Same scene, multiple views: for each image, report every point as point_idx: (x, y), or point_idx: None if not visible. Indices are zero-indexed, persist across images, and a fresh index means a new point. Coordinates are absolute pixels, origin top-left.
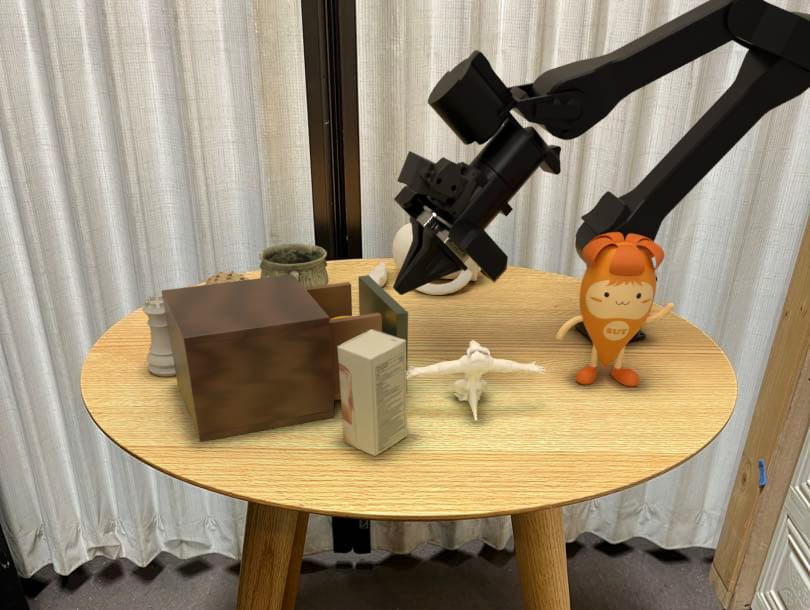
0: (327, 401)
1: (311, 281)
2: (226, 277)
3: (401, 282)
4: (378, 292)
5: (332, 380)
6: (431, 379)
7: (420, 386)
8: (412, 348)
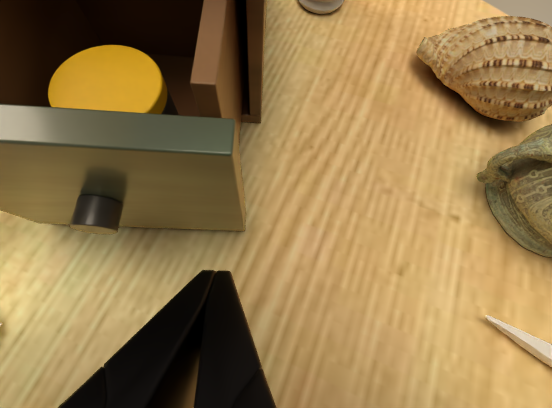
0: None
1: (547, 197)
2: (534, 35)
3: (182, 289)
4: (30, 114)
5: None
6: (102, 311)
7: (89, 276)
8: (256, 337)
